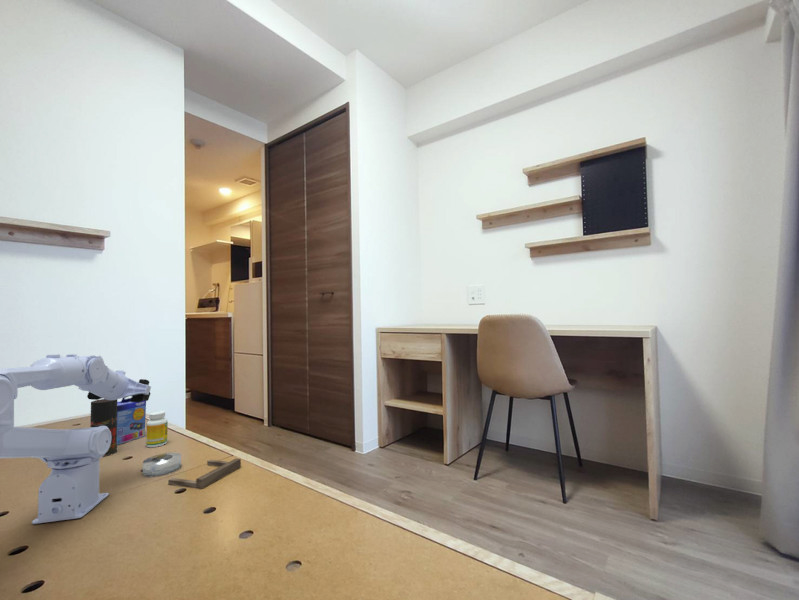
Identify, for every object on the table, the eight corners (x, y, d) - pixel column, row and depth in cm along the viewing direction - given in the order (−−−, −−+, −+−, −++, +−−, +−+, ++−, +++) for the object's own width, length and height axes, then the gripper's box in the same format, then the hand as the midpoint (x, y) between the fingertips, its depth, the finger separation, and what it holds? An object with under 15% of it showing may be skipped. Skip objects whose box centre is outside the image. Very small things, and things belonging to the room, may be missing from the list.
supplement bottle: (145, 444, 110) (145, 412, 110) (166, 440, 113) (166, 409, 113) (146, 449, 105) (147, 416, 106) (168, 444, 109) (168, 412, 109)
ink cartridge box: (115, 446, 109) (116, 397, 109) (102, 445, 110) (103, 397, 111) (146, 436, 118) (147, 391, 119) (134, 434, 120) (134, 390, 121)
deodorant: (85, 458, 99) (86, 403, 100) (96, 451, 105) (97, 399, 105) (110, 456, 100) (111, 401, 101) (120, 449, 106) (121, 397, 107)
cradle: (240, 467, 90) (240, 458, 90) (201, 488, 79) (201, 479, 79) (210, 463, 93) (210, 455, 93) (168, 484, 82) (168, 475, 82)
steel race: (173, 475, 87) (174, 462, 87) (136, 479, 85) (136, 466, 85) (185, 462, 95) (185, 450, 95) (151, 466, 93) (151, 454, 93)
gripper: (144, 367, 85) (166, 382, 97) (76, 362, 83) (107, 378, 95) (133, 397, 81) (157, 409, 93) (61, 393, 79) (96, 405, 91)
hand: (131, 395), depth 94 cm, fingers open, 7 cm apart
